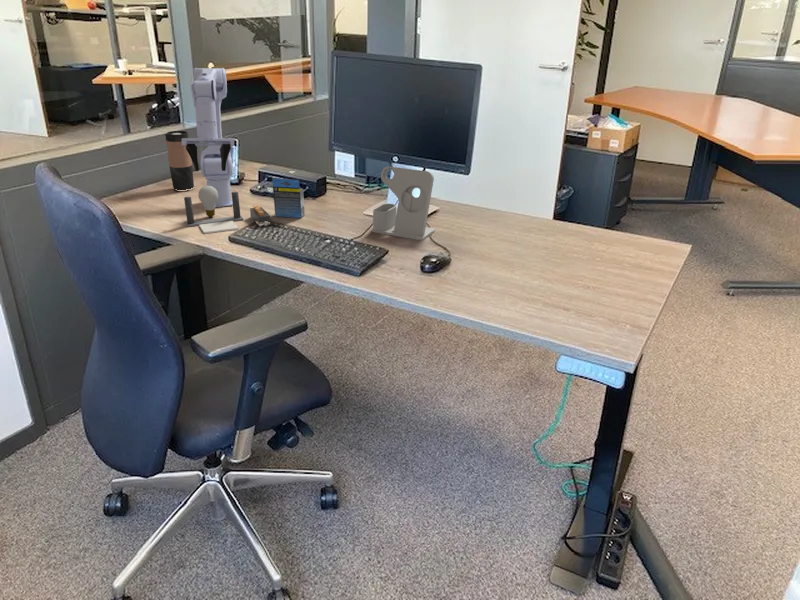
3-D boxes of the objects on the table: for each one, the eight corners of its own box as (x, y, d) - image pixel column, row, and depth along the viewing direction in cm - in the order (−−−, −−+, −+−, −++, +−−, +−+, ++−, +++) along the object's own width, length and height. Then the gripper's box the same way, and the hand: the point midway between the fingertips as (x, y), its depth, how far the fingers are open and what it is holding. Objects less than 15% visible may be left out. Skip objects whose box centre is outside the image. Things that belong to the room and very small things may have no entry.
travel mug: (199, 189, 226) (192, 132, 217) (179, 193, 221) (171, 135, 212) (188, 185, 231) (181, 130, 222) (168, 189, 225) (160, 132, 217)
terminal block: (250, 217, 196) (249, 205, 195) (262, 216, 198) (261, 204, 196) (259, 226, 188) (258, 214, 187) (271, 225, 190) (270, 212, 188)
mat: (199, 226, 188) (199, 224, 188) (232, 222, 192) (232, 220, 192) (204, 233, 182) (204, 232, 182) (238, 229, 186) (238, 227, 186)
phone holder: (369, 231, 186) (368, 171, 179) (384, 222, 195) (384, 164, 187) (422, 240, 180) (424, 179, 172) (436, 230, 188) (438, 171, 180)
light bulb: (209, 221, 192) (205, 189, 188) (197, 217, 196) (193, 186, 191) (224, 216, 197) (221, 185, 193) (212, 213, 200) (209, 182, 196)
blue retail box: (305, 215, 200) (303, 176, 195) (301, 218, 196) (299, 179, 191) (278, 213, 201) (276, 175, 196) (274, 216, 198) (271, 178, 193)
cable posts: (185, 224, 189) (181, 196, 186) (241, 217, 196) (238, 190, 193) (186, 227, 187) (183, 199, 183) (243, 220, 194) (240, 193, 190)
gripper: (182, 120, 175) (186, 170, 177) (234, 122, 182) (238, 169, 184) (179, 124, 182) (183, 171, 184) (229, 125, 188) (233, 171, 190)
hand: (210, 170), depth 184 cm, fingers open, 7 cm apart
